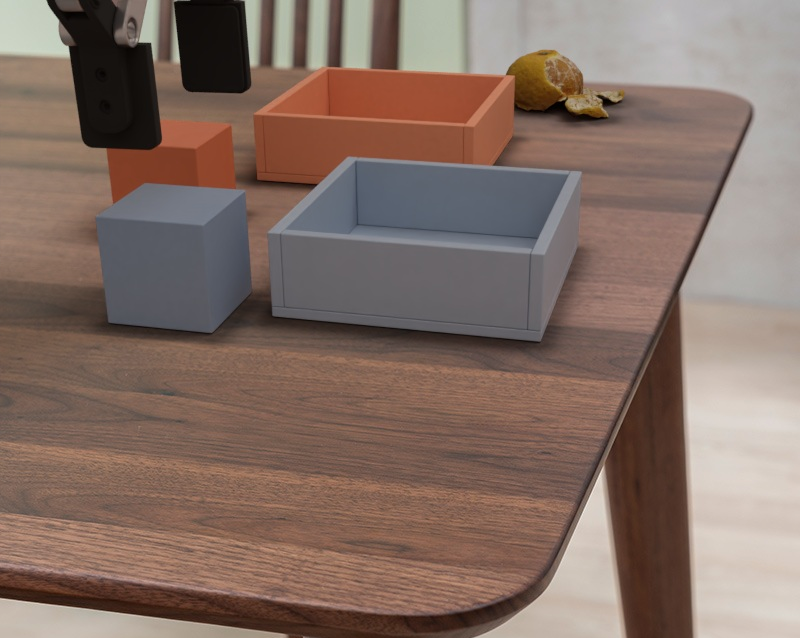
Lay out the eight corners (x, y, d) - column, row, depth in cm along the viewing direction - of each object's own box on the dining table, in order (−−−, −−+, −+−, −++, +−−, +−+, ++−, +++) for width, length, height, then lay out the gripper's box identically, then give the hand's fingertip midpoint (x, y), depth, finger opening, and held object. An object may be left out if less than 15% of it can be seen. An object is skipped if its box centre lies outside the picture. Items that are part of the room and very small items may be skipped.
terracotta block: (115, 234, 67) (104, 142, 65) (155, 205, 71) (146, 118, 69) (203, 242, 66) (195, 148, 63) (238, 212, 70) (231, 123, 68)
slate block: (108, 323, 56) (94, 216, 54) (155, 283, 60) (144, 182, 58) (212, 333, 55) (203, 224, 53) (252, 292, 59) (245, 189, 57)
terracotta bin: (257, 180, 75) (252, 113, 73) (324, 125, 87) (321, 66, 85) (473, 195, 72) (474, 126, 70) (513, 136, 84) (515, 75, 82)
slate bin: (272, 316, 57) (266, 232, 55) (349, 229, 67) (347, 156, 65) (540, 342, 54) (544, 254, 52) (578, 247, 64) (582, 170, 63)
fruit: (600, 123, 86) (603, 69, 84) (485, 113, 89) (486, 60, 87) (628, 97, 93) (632, 46, 91) (520, 88, 96) (522, 39, 94)
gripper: (132, -328, 54) (175, 72, 62) (-110, -364, 39) (-14, 169, 47) (296, -338, 53) (320, 76, 60) (108, -379, 38) (172, 178, 45)
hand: (173, 116), depth 54 cm, fingers open, 9 cm apart
